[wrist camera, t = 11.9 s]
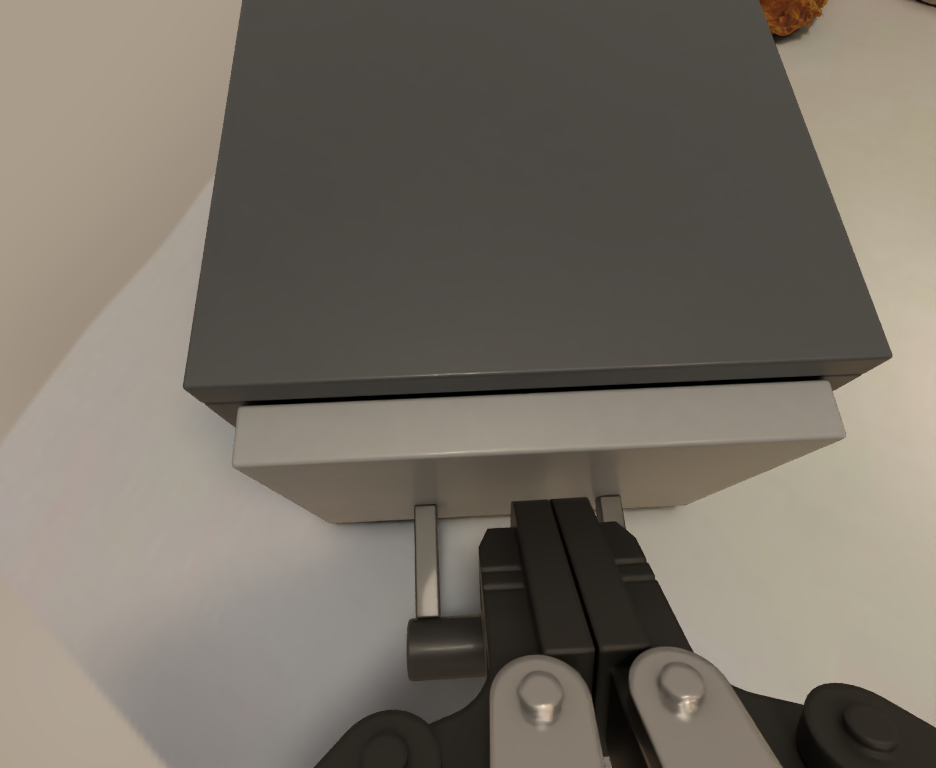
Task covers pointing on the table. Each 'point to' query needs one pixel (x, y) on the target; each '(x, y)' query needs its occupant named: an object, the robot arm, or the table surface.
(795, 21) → the leaf
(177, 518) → the table surface
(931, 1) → the coffee cup
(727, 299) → the cabinet
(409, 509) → the drawer
